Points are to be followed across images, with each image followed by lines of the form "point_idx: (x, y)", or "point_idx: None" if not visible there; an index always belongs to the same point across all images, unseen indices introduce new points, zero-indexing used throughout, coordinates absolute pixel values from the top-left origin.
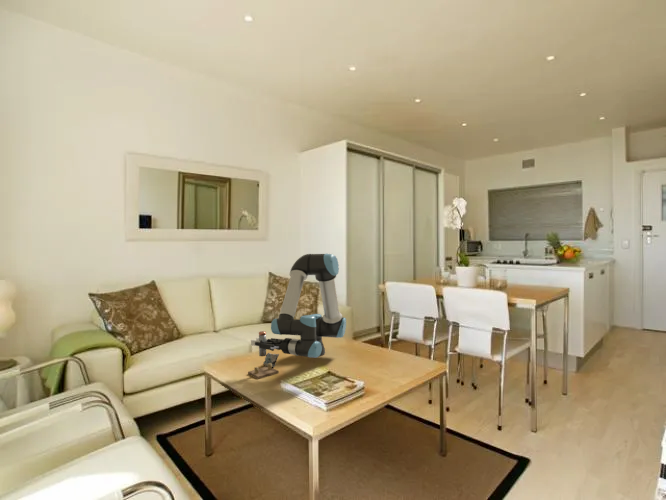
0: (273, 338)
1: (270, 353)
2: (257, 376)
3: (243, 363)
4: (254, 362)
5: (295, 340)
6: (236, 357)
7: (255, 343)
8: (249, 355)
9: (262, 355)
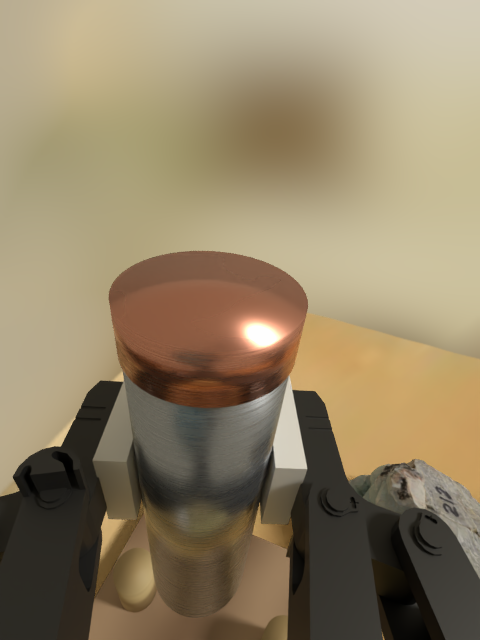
0: (469, 579)
1: (422, 494)
2: None
3: (296, 376)
4: (344, 411)
5: None
6: (333, 320)
7: (90, 402)
8: (390, 343)
9: (155, 584)
